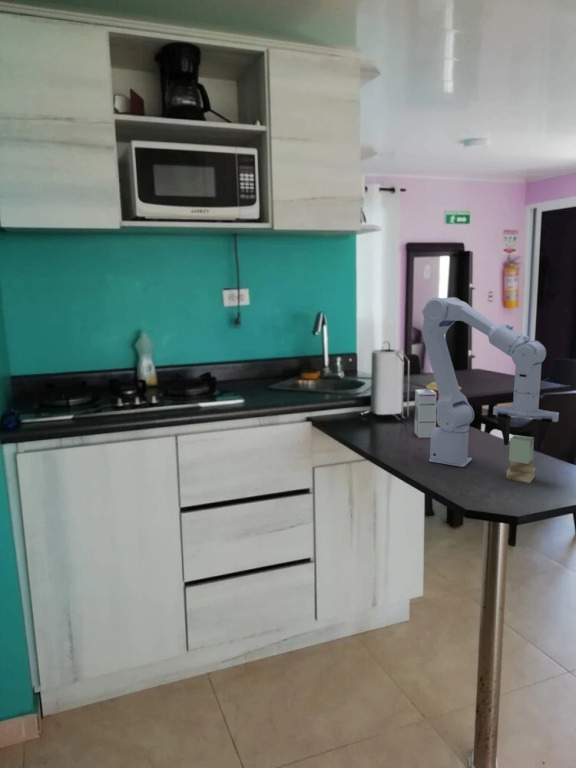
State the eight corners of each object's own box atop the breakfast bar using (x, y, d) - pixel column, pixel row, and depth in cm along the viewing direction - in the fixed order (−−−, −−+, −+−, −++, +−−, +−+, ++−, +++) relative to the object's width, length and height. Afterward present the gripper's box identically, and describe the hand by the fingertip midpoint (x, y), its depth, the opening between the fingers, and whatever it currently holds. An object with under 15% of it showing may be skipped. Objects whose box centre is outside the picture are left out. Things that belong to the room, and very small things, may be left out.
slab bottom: (506, 480, 138) (506, 470, 138) (511, 474, 143) (512, 464, 142) (530, 484, 135) (530, 474, 135) (534, 478, 140) (535, 468, 139)
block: (508, 460, 137) (510, 438, 136) (513, 456, 141) (514, 434, 140) (528, 463, 135) (529, 441, 134) (532, 459, 138) (534, 437, 137)
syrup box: (435, 437, 176) (437, 392, 173) (416, 437, 176) (418, 392, 173) (431, 433, 181) (433, 389, 179) (413, 433, 181) (414, 389, 179)
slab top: (510, 471, 137) (510, 461, 137) (510, 465, 142) (510, 455, 141) (532, 473, 135) (533, 463, 135) (531, 467, 140) (532, 457, 139)
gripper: (491, 391, 136) (488, 445, 138) (557, 397, 128) (552, 455, 130) (498, 387, 142) (495, 439, 144) (561, 392, 134) (557, 448, 136)
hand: (522, 446), depth 137 cm, fingers open, 7 cm apart
